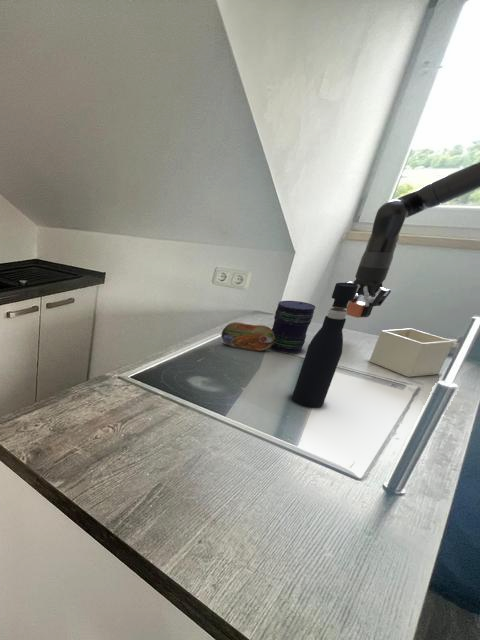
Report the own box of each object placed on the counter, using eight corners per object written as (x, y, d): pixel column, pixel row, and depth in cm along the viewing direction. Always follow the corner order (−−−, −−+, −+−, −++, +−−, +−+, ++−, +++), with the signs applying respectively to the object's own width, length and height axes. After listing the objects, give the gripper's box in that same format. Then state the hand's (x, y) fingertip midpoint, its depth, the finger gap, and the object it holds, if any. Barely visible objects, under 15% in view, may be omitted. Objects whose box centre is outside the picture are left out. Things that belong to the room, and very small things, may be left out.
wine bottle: (285, 398, 100) (322, 283, 88) (301, 393, 102) (339, 280, 90) (312, 410, 95) (355, 289, 82) (328, 404, 97) (372, 285, 85)
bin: (408, 376, 109) (423, 343, 105) (369, 361, 119) (381, 330, 114) (451, 372, 110) (468, 340, 106) (409, 357, 120) (423, 327, 116)
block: (356, 313, 137) (360, 301, 135) (368, 316, 133) (373, 304, 131) (345, 314, 136) (349, 302, 135) (357, 317, 132) (361, 305, 131)
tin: (219, 344, 134) (224, 321, 131) (220, 341, 136) (225, 318, 133) (270, 353, 126) (277, 329, 123) (271, 350, 128) (278, 326, 125)
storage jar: (291, 356, 124) (305, 311, 118) (260, 346, 132) (271, 303, 126) (308, 349, 128) (322, 305, 122) (276, 340, 136) (288, 299, 130)
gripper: (408, 268, 122) (387, 320, 128) (363, 260, 135) (346, 308, 141) (387, 269, 121) (368, 321, 128) (343, 262, 134) (328, 309, 141)
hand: (357, 314), depth 134 cm, fingers closed on block, 4 cm apart
